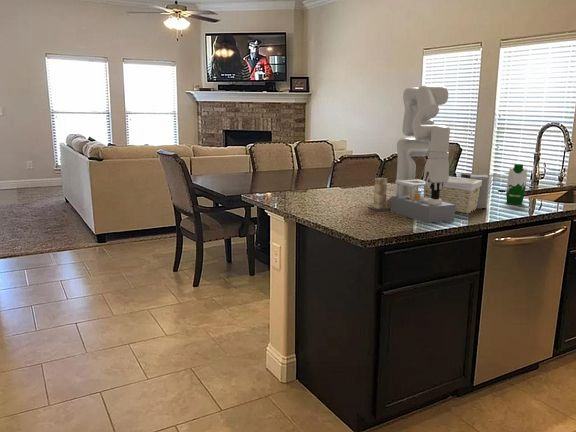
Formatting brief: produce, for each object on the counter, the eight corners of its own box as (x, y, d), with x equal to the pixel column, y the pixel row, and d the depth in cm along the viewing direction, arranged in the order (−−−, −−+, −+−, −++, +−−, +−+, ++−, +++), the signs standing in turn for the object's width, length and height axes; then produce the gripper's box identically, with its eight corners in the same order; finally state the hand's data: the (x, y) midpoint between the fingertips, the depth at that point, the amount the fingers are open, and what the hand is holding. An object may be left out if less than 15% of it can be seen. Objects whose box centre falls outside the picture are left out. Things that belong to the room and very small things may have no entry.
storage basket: (480, 209, 242) (483, 179, 239) (470, 215, 229) (473, 182, 226) (431, 203, 256) (434, 174, 252) (419, 208, 243) (422, 177, 240)
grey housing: (390, 211, 234) (392, 180, 231) (414, 209, 240) (416, 178, 236) (428, 223, 211) (430, 188, 208) (453, 220, 217) (457, 187, 214)
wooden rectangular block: (380, 206, 241) (382, 177, 238) (385, 208, 237) (387, 178, 234) (373, 207, 239) (375, 177, 236) (378, 209, 235) (380, 179, 232)
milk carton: (504, 203, 258) (509, 164, 254) (505, 200, 266) (509, 162, 262) (523, 205, 255) (528, 165, 250) (523, 202, 263) (528, 163, 258)
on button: (426, 214, 219) (428, 198, 217) (434, 213, 220) (435, 197, 219) (433, 216, 215) (434, 199, 214) (440, 215, 217) (441, 199, 215)
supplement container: (478, 198, 273) (480, 175, 270) (457, 196, 276) (459, 174, 274) (478, 195, 283) (480, 173, 280) (458, 193, 286) (460, 172, 283)
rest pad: (381, 207, 243) (381, 206, 243) (389, 210, 237) (389, 208, 236) (368, 208, 240) (368, 207, 240) (377, 211, 234) (377, 209, 234)
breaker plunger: (406, 210, 231) (407, 193, 229) (414, 210, 233) (415, 193, 231) (413, 213, 226) (414, 195, 225) (421, 212, 228) (422, 194, 227)
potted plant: (436, 187, 306) (439, 146, 301) (452, 188, 305) (456, 146, 299) (438, 190, 296) (442, 147, 291) (455, 190, 295) (459, 148, 290)
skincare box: (485, 206, 249) (489, 174, 245) (485, 209, 242) (489, 176, 239) (467, 205, 252) (470, 173, 248) (467, 208, 245) (470, 175, 242)
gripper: (446, 154, 219) (442, 196, 223) (418, 155, 212) (415, 198, 216) (458, 156, 212) (454, 199, 216) (430, 157, 206) (427, 201, 210)
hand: (435, 198), depth 216 cm, fingers closed
